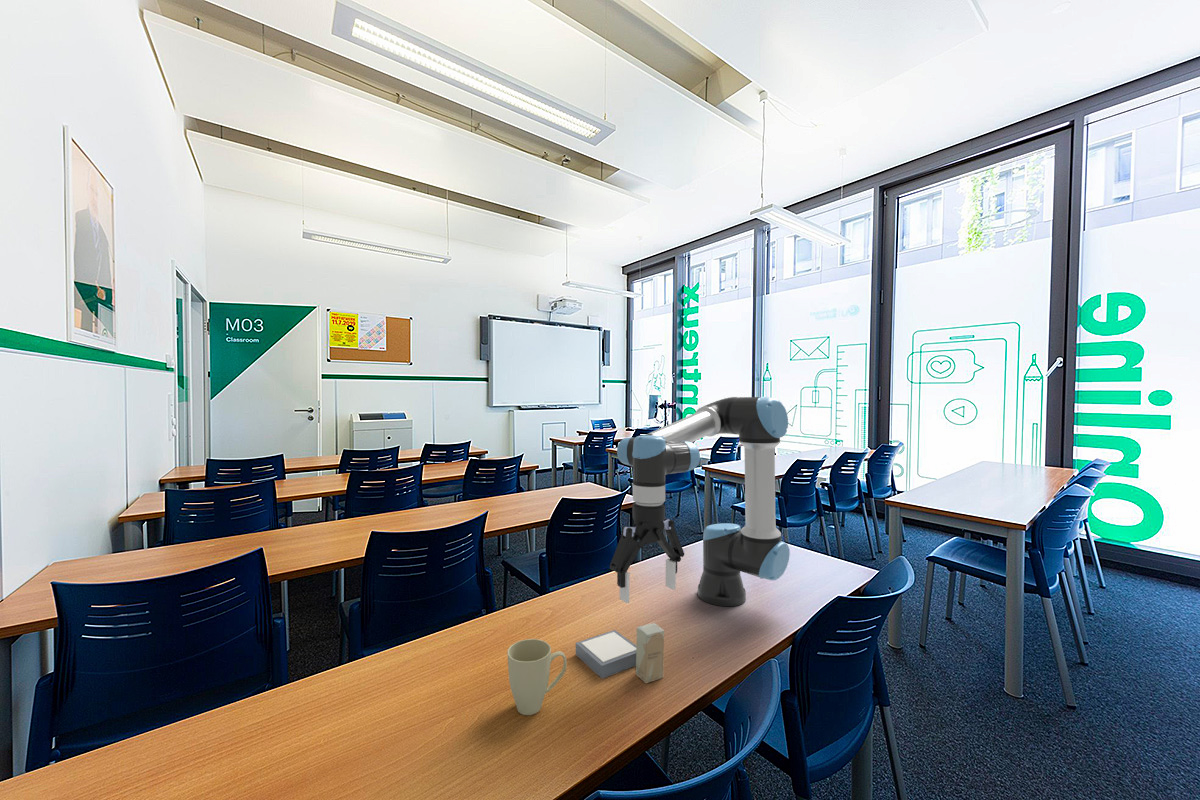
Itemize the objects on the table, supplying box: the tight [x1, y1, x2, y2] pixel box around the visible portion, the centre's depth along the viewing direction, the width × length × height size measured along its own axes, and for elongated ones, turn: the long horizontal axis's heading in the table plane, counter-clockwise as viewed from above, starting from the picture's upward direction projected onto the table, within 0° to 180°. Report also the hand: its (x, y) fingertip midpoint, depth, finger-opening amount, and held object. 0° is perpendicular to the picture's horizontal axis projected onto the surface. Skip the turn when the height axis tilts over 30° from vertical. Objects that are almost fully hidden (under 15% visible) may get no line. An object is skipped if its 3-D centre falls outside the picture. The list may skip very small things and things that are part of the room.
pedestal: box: [575, 629, 637, 680], centre depth 115 cm, size 12×12×3 cm
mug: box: [506, 638, 568, 716], centre depth 98 cm, size 11×10×12 cm
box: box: [635, 622, 665, 684], centre depth 108 cm, size 5×4×11 cm
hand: (648, 594), depth 108 cm, fingers open, 13 cm apart
